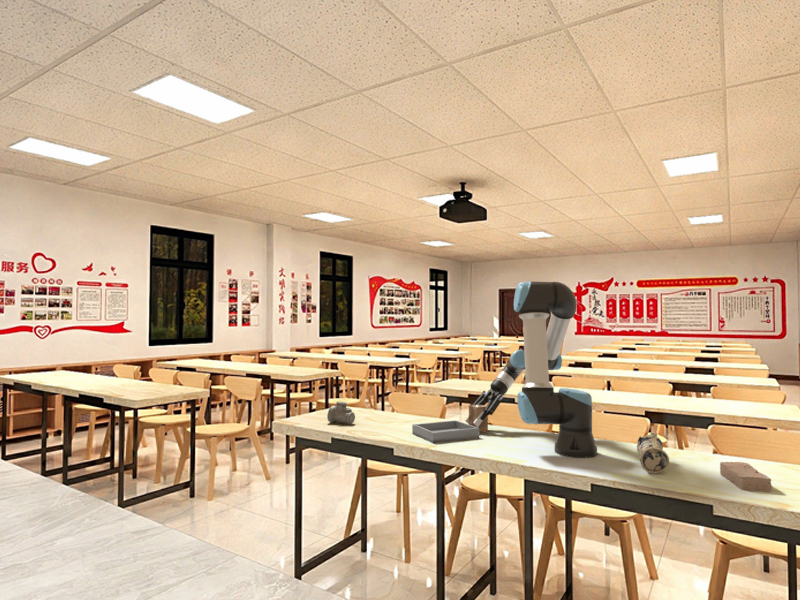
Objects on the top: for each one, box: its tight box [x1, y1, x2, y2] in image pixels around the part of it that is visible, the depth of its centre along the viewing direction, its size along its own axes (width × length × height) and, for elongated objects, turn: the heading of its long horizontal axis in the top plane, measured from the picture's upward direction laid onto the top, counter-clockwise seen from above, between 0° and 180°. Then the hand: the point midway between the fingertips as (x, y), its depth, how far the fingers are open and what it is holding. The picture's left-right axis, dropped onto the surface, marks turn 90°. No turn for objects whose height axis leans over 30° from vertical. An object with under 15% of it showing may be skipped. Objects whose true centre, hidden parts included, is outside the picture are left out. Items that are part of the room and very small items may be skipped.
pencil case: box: [636, 431, 670, 475], centre depth 179 cm, size 22×8×10 cm, turn 159°
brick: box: [719, 461, 772, 493], centre depth 163 cm, size 16×8×5 cm, turn 170°
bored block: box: [468, 404, 489, 434], centre depth 233 cm, size 6×6×11 cm
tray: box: [411, 420, 480, 444], centre depth 224 cm, size 18×22×4 cm
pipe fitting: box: [326, 400, 356, 426], centre depth 248 cm, size 12×8×10 cm
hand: (471, 423), depth 232 cm, fingers closed on bored block, 6 cm apart
